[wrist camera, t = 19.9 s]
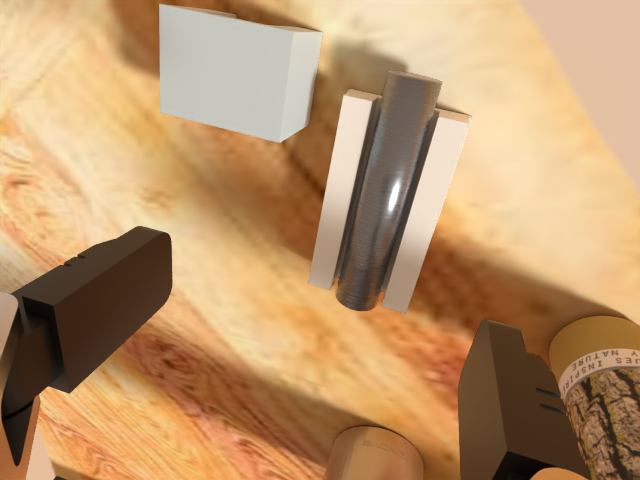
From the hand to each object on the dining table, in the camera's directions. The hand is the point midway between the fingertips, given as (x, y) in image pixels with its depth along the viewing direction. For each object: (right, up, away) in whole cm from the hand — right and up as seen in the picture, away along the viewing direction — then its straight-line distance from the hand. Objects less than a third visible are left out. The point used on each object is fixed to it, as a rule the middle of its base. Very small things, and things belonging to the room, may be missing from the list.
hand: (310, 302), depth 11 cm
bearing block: (-4, +13, +19) cm, 23 cm away
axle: (+5, +5, +19) cm, 20 cm away
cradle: (+5, +5, +20) cm, 21 cm away
